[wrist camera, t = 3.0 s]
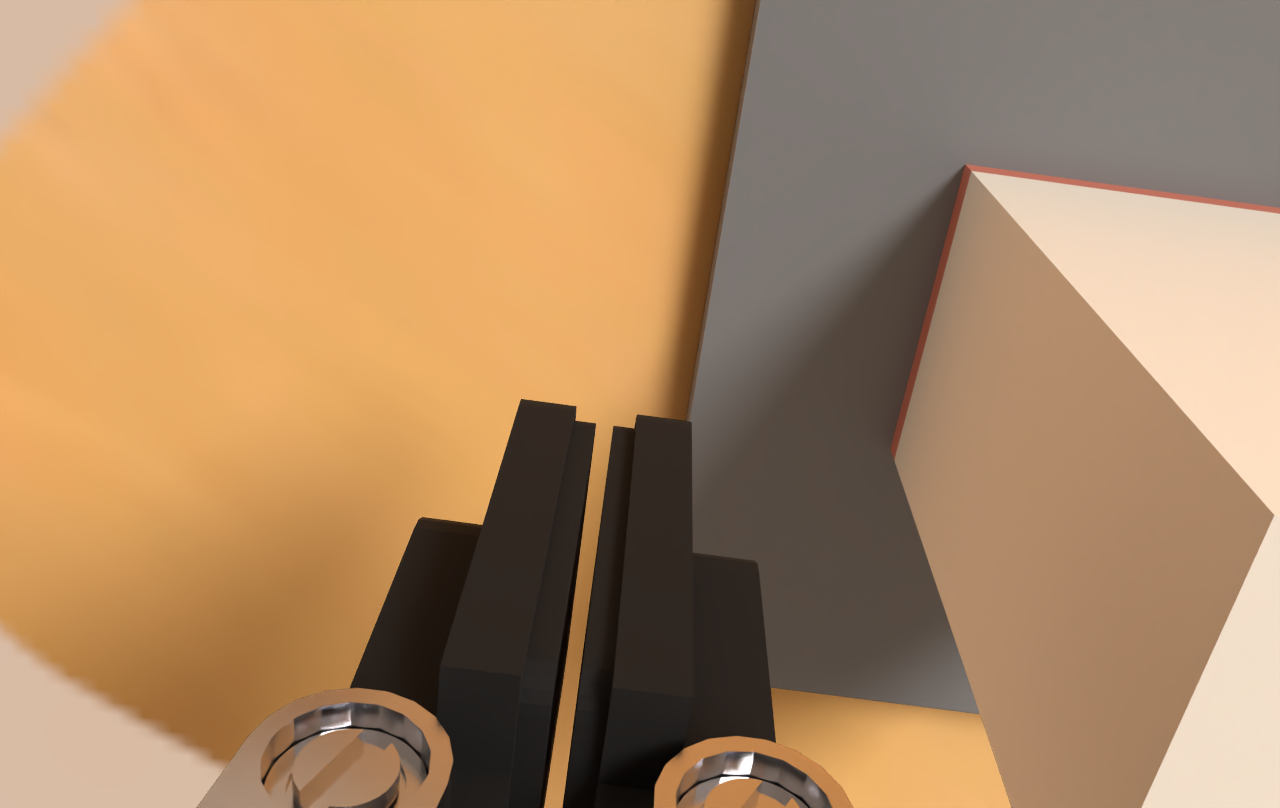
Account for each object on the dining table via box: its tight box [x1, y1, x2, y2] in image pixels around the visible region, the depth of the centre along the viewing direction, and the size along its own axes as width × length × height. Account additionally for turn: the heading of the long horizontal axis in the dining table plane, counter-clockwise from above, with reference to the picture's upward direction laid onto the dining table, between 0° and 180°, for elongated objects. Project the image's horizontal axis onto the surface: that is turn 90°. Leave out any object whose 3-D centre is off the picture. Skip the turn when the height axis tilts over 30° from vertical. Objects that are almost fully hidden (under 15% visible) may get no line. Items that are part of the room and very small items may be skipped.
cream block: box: [890, 164, 1280, 808], centre depth 14 cm, size 5×5×10 cm
